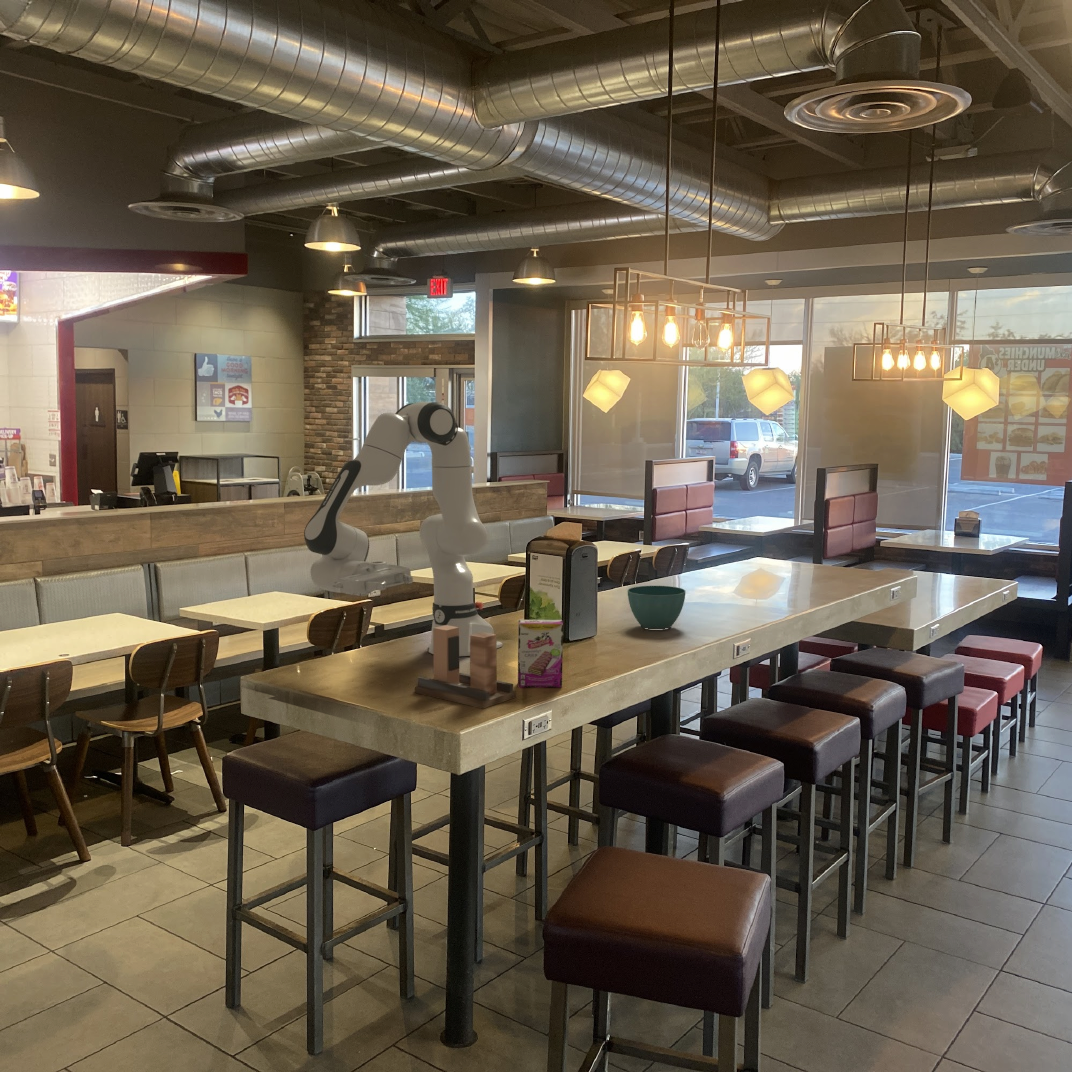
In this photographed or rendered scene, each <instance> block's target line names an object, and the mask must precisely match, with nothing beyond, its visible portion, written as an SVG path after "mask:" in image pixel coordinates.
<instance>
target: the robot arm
mask: <svg viewBox="0 0 1072 1072" xmlns="http://www.w3.org/2000/svg"><path fill="white" fill-rule="evenodd" d="M412 442H413V443H414V442H415V443H419V444H420V443H421V444H424V443H425V444H426V443H427V444H428V446H429V449H430V451H431V486H432V487H431V488H432V496H433V497H434V499H435V500H436V502H437V504H438V507H439V510H440V513H437V514H433V515H430V516H428V517H426V518H425V519H424V520H423V521H422V522H421V524H420V527H419V538H420V540H421V542H422V543H423V545H424V547H425V550H426V552H427V555H428V558H429V562H430V565H431V570H432V575H433V577H432V578H433V603H432V608H431V609H432V616H433V620H432V621H431V622H432V623H431V624H432V625H431V632H430V633H431V634H430V643H428V653H430V654H431V655H433V628H435V627H440V626H444V625H448V626H454V627H459V657H470V635H473V634H477V633H481V632H484V633H490V634H495V632H494V628H493V626H492V624H490V623H489V622H488V621H486V620H485V618H482V617H481V616H480V615H479V614H478V611H477V610H483V608H484V603H483V602H478V601H476V602H474V576H473V572H472V571H471V570H470V568H469V567H468V565H467V562H466V559H465V557H472V556H473V557H474V556H476V555H479V554H481V553H482V552H483V551H484V550H485V549H486V547H487V544H488V541H489V533H488V530H487V528H486V527H485V525H484V524H483V523H482V521H481V519H480V517H479V513H478V511H477V507H476V504H475V499H474V494H473V483H472V482H473V479H472V477H473V476H472V455H471V447H470V440H469V437H468V434H467V432H466V431H465V430H464V429H463V428H461V427H459V425H458V423H457V422H456V416H455V414H454V412H453V411H452V409H451V408H450V407H448V405H446V404H444V403H441V402H437V401H432V402H431V401H419V402H415V403H413V402H412V403H407V404H404V405H403V406H402V407H400V408H399V409H398V410H397V411H396V412H395V413H394V412H383V413H381V414H380V415H378V416H377V418H376V420H375V421H374V422H373V424H372V426H371V428H370V429H369V431H368V433H367V435H366V437H365V439H364V442H363V444H362V446H361V449H360V451H359V452H358V454H357V455H356V456H355V458H354V459H352V460H349V461H347V462H345V464H344V465H343V466H342V467H341V469H340V470H339V472H338V474H337V475H336V477H335V478H334V480H333V482H332V484H331V486H330V488H329V489H328V491H327V493H326V495H325V496H324V498H323V500H322V502H321V504H320V505H319V507H318V509H317V510H316V512H315V513H314V514H313V516H312V517H311V518H310V520H309V521H308V522H307V524H306V525H305V527H304V531H303V539H304V542H305V545H306V547H307V549H308V550H309V551H310V552H312V553H315V554H319V555H322V556H321V557H320V558H318V559H317V560H315V561H314V562H313V563H312V564H311V567H310V572H309V573H310V577H311V580H312V582H313V584H315V586H317V587H318V588H319V589H321V590H324V591H327V592H332V593H338V594H339V593H340V594H341V593H342V594H346V595H351V596H359V597H365V596H367V595H370V593H373V592H374V591H385V590H386V588H387V589H388V588H392V587H395V586H399V585H403V584H406V585H407V584H408V585H409V584H412V583H414V578H413V576H412V572H411V569H410V568H409V567H406V566H403V565H398V564H397V565H396V564H388V562H386V561H367V557H368V556H369V551H370V540H369V537H368V534H367V533H366V532H365V531H363V530H361V529H359V528H357V527H355V526H353V525H350V524H348V523H345V522H343V521H340V515H341V514H342V512H343V511H344V508H345V506H346V505H347V503H348V501H349V499H350V498H351V496H352V494H353V493H354V492H355V491H356V490H357V489H358V488H361V487H365V486H366V487H367V486H382V485H384V484H386V483H388V482H390V481H392V480H393V479H394V477H395V476H396V474H397V473H398V471H399V469H400V466H401V464H402V460H403V457H404V455H405V452H406V450H407V448H408V446H409V445H410V444H411V443H412ZM502 647H503V642H501V641H499V640H497V649H499V648H502Z"/></svg>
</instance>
